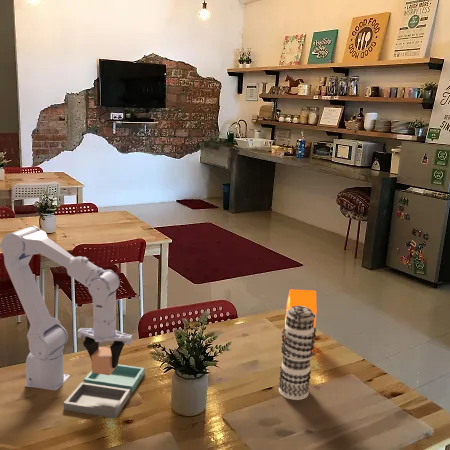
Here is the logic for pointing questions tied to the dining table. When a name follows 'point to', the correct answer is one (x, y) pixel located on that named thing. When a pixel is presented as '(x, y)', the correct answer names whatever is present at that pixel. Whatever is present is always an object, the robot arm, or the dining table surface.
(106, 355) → the terracotta block
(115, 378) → the teal bin
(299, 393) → the decorative candle
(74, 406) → the grey bin
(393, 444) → the dining table surface
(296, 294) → the orange juice
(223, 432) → the dining table surface
